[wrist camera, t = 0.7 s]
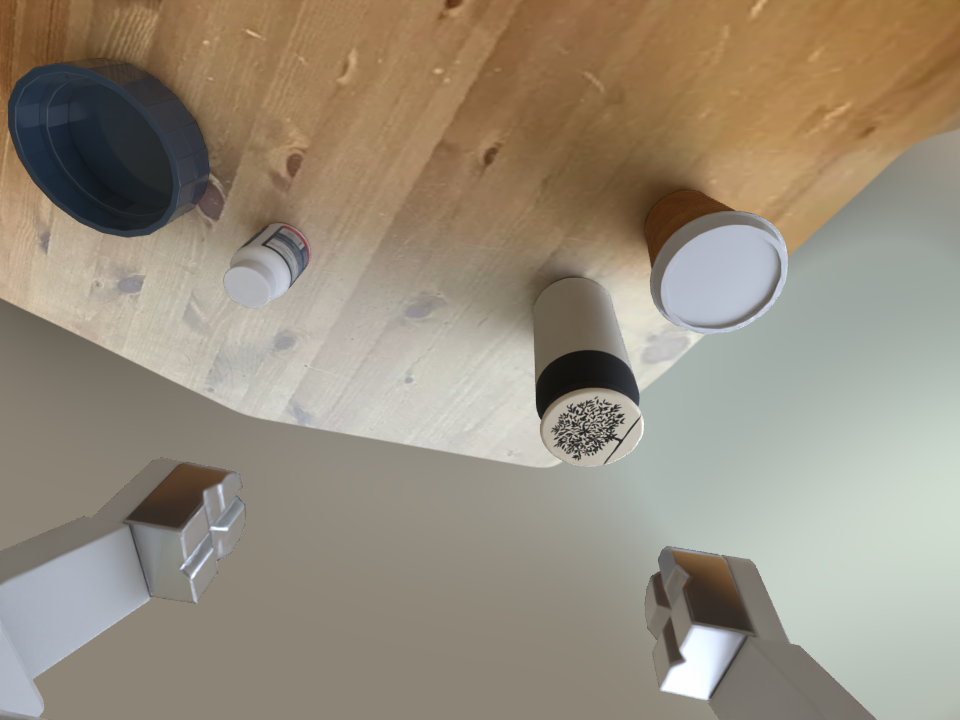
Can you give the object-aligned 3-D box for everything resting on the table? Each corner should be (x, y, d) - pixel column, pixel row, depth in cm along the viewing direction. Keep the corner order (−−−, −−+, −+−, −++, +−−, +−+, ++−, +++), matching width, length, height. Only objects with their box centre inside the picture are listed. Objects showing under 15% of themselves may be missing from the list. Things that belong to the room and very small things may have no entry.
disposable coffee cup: (733, 155, 43) (795, 199, 33) (739, 258, 48) (794, 322, 38) (618, 189, 45) (644, 240, 35) (635, 284, 50) (662, 351, 40)
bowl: (27, 71, 43) (-31, 78, 39) (170, 46, 41) (126, 50, 37) (112, 223, 50) (71, 244, 46) (235, 207, 49) (206, 228, 44)
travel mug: (518, 322, 54) (516, 443, 39) (562, 261, 49) (578, 370, 35) (581, 356, 55) (602, 483, 41) (628, 300, 51) (671, 419, 36)
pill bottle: (266, 272, 52) (225, 315, 45) (252, 222, 49) (205, 259, 42) (317, 272, 52) (283, 315, 45) (305, 221, 49) (267, 259, 42)
